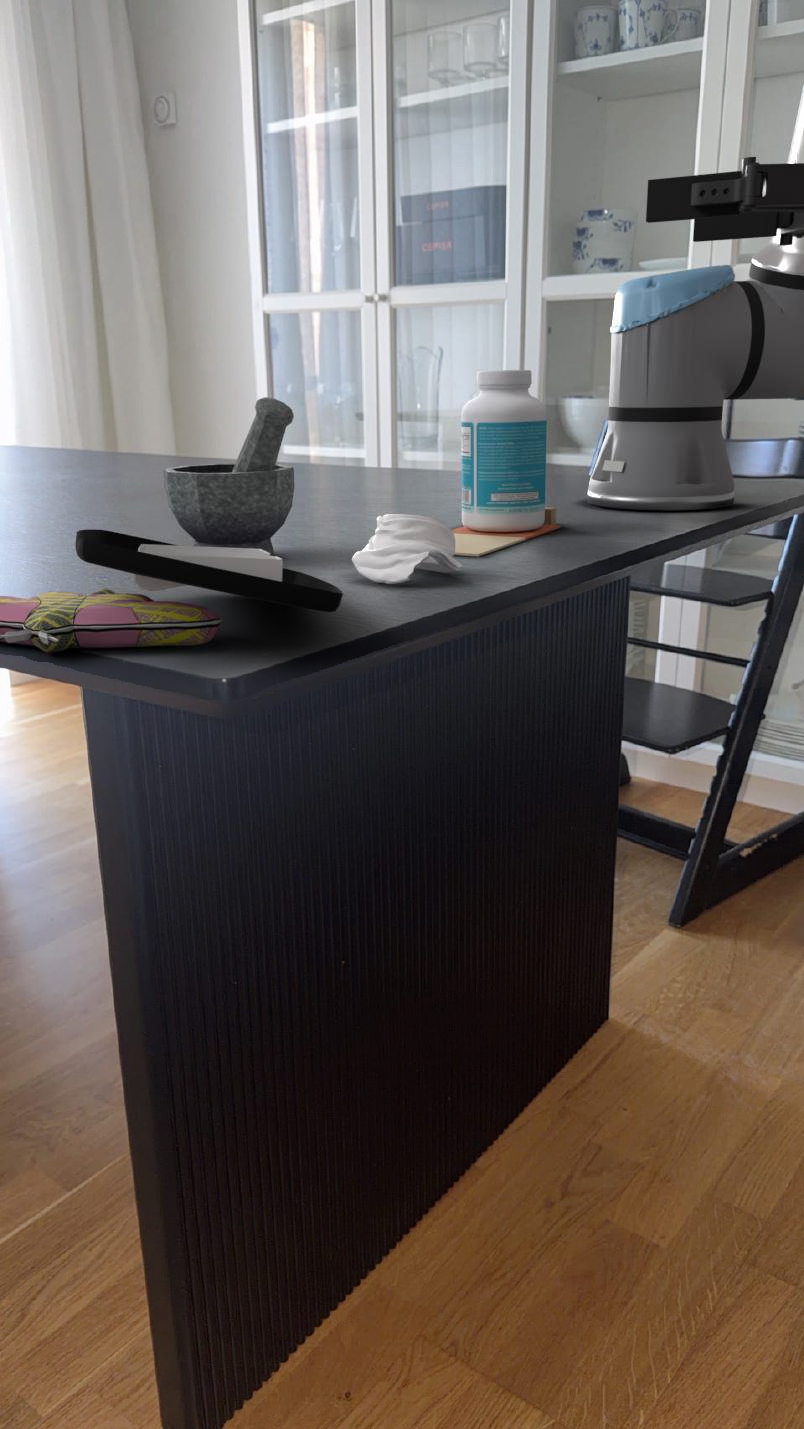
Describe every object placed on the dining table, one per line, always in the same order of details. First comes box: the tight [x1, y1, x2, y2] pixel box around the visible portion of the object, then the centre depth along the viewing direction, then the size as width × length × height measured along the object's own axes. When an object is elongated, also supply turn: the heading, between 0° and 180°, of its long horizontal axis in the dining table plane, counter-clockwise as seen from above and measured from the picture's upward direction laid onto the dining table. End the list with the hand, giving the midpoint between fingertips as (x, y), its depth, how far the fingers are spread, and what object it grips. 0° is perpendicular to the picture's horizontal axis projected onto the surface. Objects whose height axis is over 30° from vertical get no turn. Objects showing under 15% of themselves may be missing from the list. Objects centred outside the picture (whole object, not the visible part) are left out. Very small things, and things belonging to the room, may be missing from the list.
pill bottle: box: [460, 369, 548, 532], centre depth 93 cm, size 8×7×14 cm
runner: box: [451, 524, 562, 558], centre depth 91 cm, size 18×8×1 cm, turn 152°
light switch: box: [75, 528, 344, 613], centre depth 59 cm, size 20×3×14 cm
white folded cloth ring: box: [351, 513, 463, 585], centre depth 73 cm, size 8×7×5 cm
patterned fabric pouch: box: [0, 588, 222, 654], centre depth 56 cm, size 17×2×10 cm
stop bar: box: [543, 506, 558, 525], centre depth 99 cm, size 1×6×2 cm, turn 61°
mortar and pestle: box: [162, 396, 295, 556], centre depth 80 cm, size 11×9×12 cm
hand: (672, 213), depth 82 cm, fingers open, 13 cm apart
